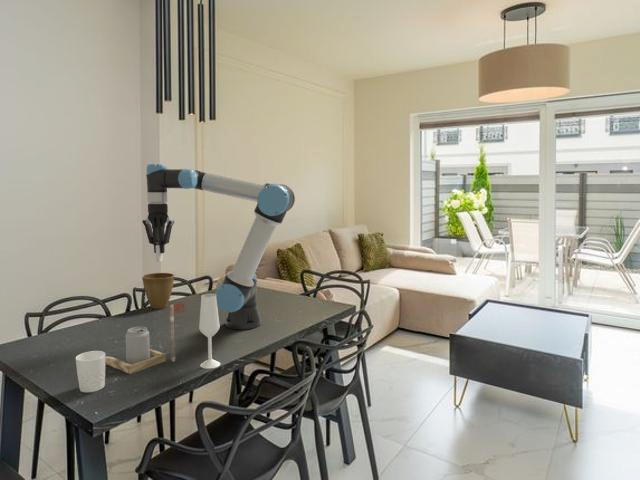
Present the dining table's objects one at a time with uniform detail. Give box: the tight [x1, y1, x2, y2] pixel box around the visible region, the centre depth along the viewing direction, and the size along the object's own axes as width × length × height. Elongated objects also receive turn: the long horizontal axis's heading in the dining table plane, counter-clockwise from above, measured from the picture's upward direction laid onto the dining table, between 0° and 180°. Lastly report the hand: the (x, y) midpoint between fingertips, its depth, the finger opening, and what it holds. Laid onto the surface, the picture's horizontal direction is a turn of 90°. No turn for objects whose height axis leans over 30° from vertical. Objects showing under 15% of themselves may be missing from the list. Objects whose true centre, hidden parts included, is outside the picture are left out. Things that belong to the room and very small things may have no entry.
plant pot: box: [141, 272, 175, 310], centre depth 221 cm, size 15×15×16 cm
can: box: [125, 326, 151, 365], centre depth 152 cm, size 8×8×12 cm
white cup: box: [75, 350, 106, 393], centre depth 133 cm, size 8×8×10 cm
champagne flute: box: [198, 293, 221, 369], centre depth 150 cm, size 7×7×24 cm
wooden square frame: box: [105, 301, 185, 375], centre depth 154 cm, size 23×23×20 cm
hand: (159, 261), depth 182 cm, fingers closed
